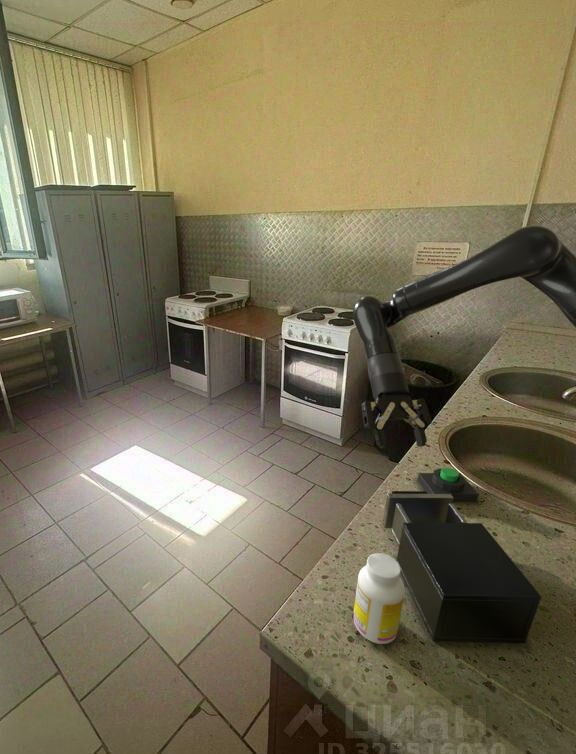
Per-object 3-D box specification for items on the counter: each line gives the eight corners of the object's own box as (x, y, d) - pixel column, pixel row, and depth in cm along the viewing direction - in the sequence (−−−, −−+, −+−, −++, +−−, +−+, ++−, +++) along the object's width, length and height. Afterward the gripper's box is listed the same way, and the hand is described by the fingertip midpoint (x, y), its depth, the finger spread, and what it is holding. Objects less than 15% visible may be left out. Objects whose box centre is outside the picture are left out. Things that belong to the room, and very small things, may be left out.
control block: (458, 480, 97) (461, 466, 96) (477, 502, 90) (480, 487, 88) (417, 480, 98) (419, 466, 96) (432, 501, 90) (435, 487, 89)
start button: (452, 473, 94) (453, 467, 94) (460, 482, 91) (462, 476, 90) (437, 473, 94) (438, 467, 94) (444, 482, 91) (445, 476, 90)
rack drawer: (375, 510, 87) (380, 480, 84) (434, 511, 86) (440, 481, 83) (409, 579, 70) (416, 545, 67) (482, 580, 70) (492, 546, 67)
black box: (395, 563, 75) (403, 522, 71) (470, 564, 74) (481, 522, 71) (432, 641, 61) (443, 595, 57) (525, 643, 60) (542, 596, 57)
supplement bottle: (400, 619, 64) (412, 559, 60) (391, 654, 59) (404, 592, 55) (359, 599, 68) (367, 541, 63) (347, 631, 63) (355, 570, 58)
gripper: (363, 371, 87) (378, 445, 81) (425, 369, 88) (444, 442, 82) (350, 382, 94) (363, 451, 88) (408, 380, 95) (425, 448, 89)
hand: (402, 447), depth 85 cm, fingers open, 8 cm apart
